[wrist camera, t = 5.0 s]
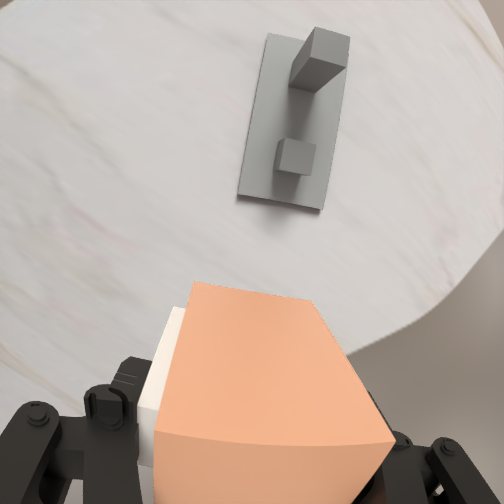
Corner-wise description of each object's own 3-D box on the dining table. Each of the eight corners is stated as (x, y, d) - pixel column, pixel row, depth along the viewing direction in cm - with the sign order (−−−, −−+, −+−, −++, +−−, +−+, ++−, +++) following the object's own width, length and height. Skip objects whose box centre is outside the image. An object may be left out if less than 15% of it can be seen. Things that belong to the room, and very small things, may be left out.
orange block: (180, 378, 15) (154, 531, 6) (194, 281, 13) (154, 430, 5) (283, 392, 15) (320, 538, 7) (311, 301, 14) (396, 441, 6)
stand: (237, 193, 29) (241, 202, 20) (267, 35, 25) (282, -11, 17) (321, 208, 30) (357, 224, 21) (346, 55, 26) (385, 21, 18)
